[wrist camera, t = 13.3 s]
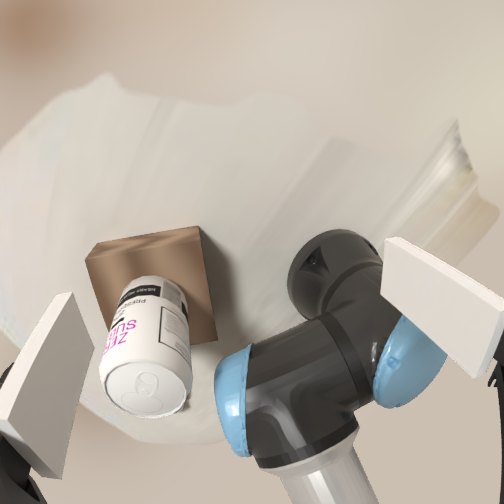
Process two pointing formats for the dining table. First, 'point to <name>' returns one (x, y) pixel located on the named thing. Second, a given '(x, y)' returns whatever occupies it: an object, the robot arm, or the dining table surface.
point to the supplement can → (148, 350)
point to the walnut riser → (155, 263)
